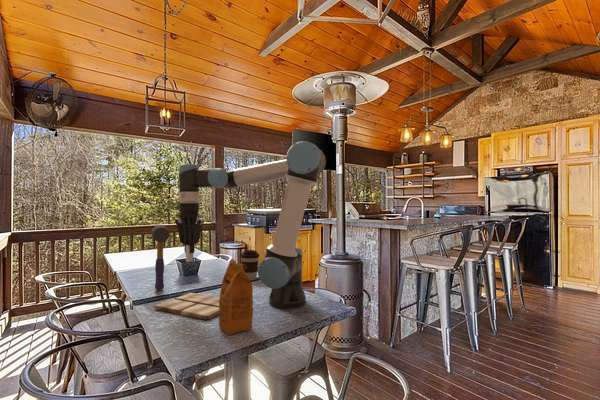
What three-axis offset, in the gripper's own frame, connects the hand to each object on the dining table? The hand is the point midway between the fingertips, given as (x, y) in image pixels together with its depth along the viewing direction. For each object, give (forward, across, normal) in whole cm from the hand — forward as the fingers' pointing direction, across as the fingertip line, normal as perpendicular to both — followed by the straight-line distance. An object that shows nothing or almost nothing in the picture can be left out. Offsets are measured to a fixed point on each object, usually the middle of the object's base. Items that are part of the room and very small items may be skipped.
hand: (189, 260), depth 125 cm
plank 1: (+17, -2, -6) cm, 18 cm away
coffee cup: (+18, +1, +45) cm, 48 cm away
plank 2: (+17, +11, -6) cm, 22 cm away
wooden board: (+18, +5, +4) cm, 19 cm away
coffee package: (+18, +29, -12) cm, 36 cm away
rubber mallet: (+17, -26, +10) cm, 33 cm away
